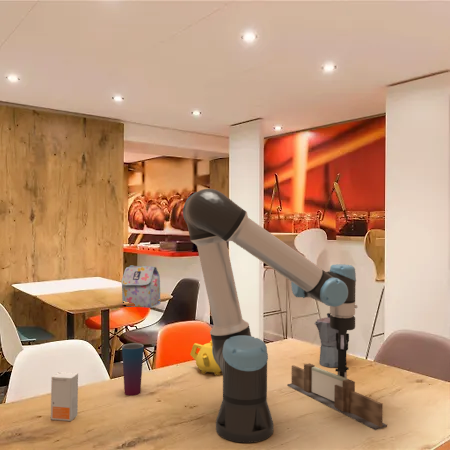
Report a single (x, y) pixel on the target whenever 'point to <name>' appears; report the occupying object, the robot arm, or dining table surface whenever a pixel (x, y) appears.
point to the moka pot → (327, 342)
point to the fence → (341, 398)
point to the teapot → (205, 358)
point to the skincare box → (64, 396)
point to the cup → (132, 368)
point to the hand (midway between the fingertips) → (341, 391)
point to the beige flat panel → (325, 382)
